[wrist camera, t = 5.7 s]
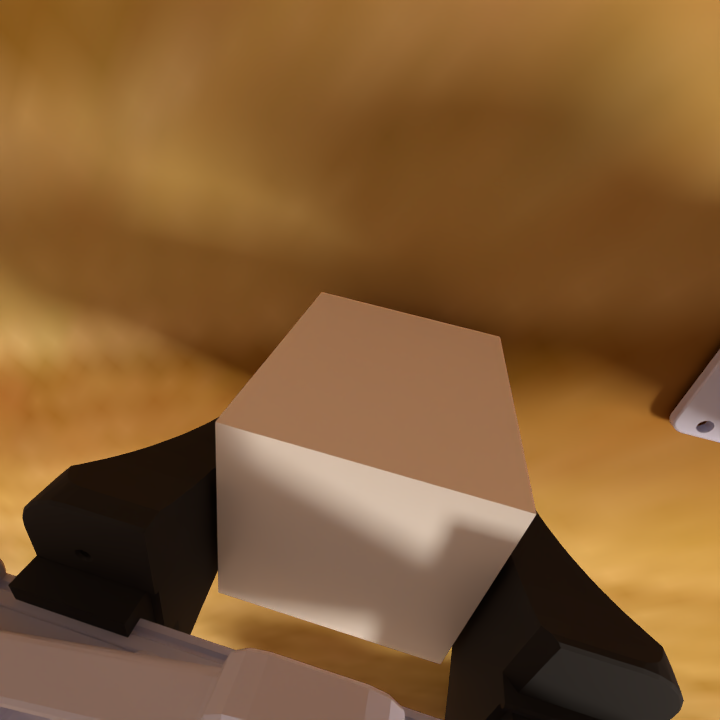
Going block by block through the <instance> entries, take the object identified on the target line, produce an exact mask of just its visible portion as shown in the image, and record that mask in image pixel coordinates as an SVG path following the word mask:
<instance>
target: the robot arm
mask: <svg viewBox="0 0 720 720" xmlns="http://www.w3.org/2000/svg"><path fill="white" fill-rule="evenodd" d="M218 418H219V417H218ZM218 418H216V419H214V420H213V421H211V422H209V423H207V424H205V425H203V426H201V427H199V428H196V429H194V430H192V431H190V432H187V433H185V434H183V435H180V436H177V437H175V438H172V439H169V440H167V441H164V442H161V443H158V444H156V445H153V446H150V447H147V448H143V449H140V450H137V451H134V452H130V453H126V454H123V455H119V456H115V457H111V458H107V459H102V460H98V461H93V462H88V463H84V464H79V465H74V466H71V467H69V468H68V469H67V470H66V471H64V472H63V473H62V474H61V475H60V476H58V477H57V478H56V479H55V480H54V481H53V482H52V483H50V484H49V485H48V486H47V487H46V488H45V489H44V490H43V491H41V492H40V493H39V494H38V495H37V496H36V497H35V498H34V499H33V500H31V501H30V502H29V503H28V504H27V505H26V506H25V507H24V510H23V522H24V526H25V528H26V531H27V533H28V535H29V538H30V540H31V542H32V545H33V547H34V549H35V552H36V554H37V556H36V557H35V558H34V559H33V560H32V561H31V562H30V563H29V564H28V565H27V566H26V567H25V568H24V569H23V570H22V571H21V572H20V573H19V574H18V575H17V576H14V575H11V574H8V573H6V569H5V566H4V563H3V561H2V560H1V559H0V720H441V719H438V718H435V717H432V716H429V715H426V714H424V713H421V712H418V711H415V710H412V709H409V708H406V707H403V706H401V705H400V704H399V703H398V702H397V701H396V700H395V699H393V698H392V697H391V696H390V695H389V694H388V693H386V692H383V691H381V690H379V689H377V688H375V687H373V686H371V685H368V684H365V683H362V682H359V681H356V680H353V679H350V678H347V677H344V676H341V675H338V674H335V673H332V672H329V671H326V670H323V669H320V668H317V667H314V666H311V665H308V664H305V663H303V662H300V661H297V660H294V659H291V658H288V657H285V656H282V655H279V654H276V653H273V652H269V651H264V650H259V649H254V648H246V649H240V650H233V649H230V648H227V647H225V646H222V645H219V644H216V643H213V642H210V641H207V640H204V639H201V638H198V637H195V636H192V635H190V634H191V632H192V629H193V627H194V625H195V622H196V620H197V617H198V615H199V613H200V610H201V608H202V605H203V603H204V601H205V599H206V596H207V594H208V592H209V589H210V587H211V585H212V583H213V580H214V578H215V576H216V573H217V571H218V541H217V488H216V435H215V422H216V421H217V419H218ZM669 419H670V423H671V424H672V426H673V427H674V428H675V429H676V430H677V431H679V432H681V433H684V434H688V435H692V436H696V437H700V438H704V439H708V440H712V441H715V442H719V443H720V349H719V351H718V352H717V353H716V355H715V356H714V357H713V359H712V360H711V361H710V363H709V364H708V365H707V367H706V368H705V369H704V371H703V372H702V373H701V375H700V376H699V377H698V379H697V380H696V381H695V383H694V384H693V385H692V387H691V388H690V389H689V391H688V392H687V393H686V395H685V396H684V397H683V399H682V400H681V401H680V403H679V404H678V405H677V407H676V408H675V409H674V410H673V412H672V413H671V415H670V417H669ZM703 421H707V422H706V423H705V424H704V425H700V426H697V425H698V424H699V423H700V422H703ZM683 701H684V700H683V697H682V694H681V691H680V688H679V685H678V683H677V680H676V678H675V675H674V672H673V670H672V667H671V665H670V663H669V660H668V658H667V656H666V654H665V651H664V649H663V647H662V646H661V645H660V644H659V643H658V642H656V641H655V640H654V639H653V638H652V637H651V636H650V635H649V634H648V633H646V632H645V631H644V630H643V629H642V628H641V627H640V626H639V625H637V624H636V623H635V622H634V621H633V620H632V619H631V618H630V617H629V616H627V615H626V614H625V613H624V612H623V611H622V610H621V609H620V608H619V607H618V606H617V605H616V604H615V603H614V602H613V601H612V600H611V599H610V598H609V597H608V596H607V595H606V594H605V593H604V592H603V591H602V590H601V589H600V588H599V587H598V586H597V585H596V584H595V583H594V582H593V581H592V580H591V579H590V578H589V577H588V575H587V574H586V573H585V572H584V571H583V570H582V569H581V568H580V566H579V565H578V564H577V563H576V562H575V561H574V560H573V558H572V557H571V556H570V555H569V554H568V553H567V551H566V550H565V549H564V548H563V547H562V545H561V544H560V543H559V541H558V540H557V539H556V538H555V536H554V535H553V534H552V532H551V531H550V530H549V528H548V527H547V526H546V524H545V523H544V522H543V520H542V519H541V517H540V516H539V514H538V513H537V511H536V516H535V517H534V519H533V520H532V522H531V524H530V525H529V527H528V528H527V530H526V531H525V533H524V535H523V536H522V538H521V539H520V541H519V542H518V544H517V545H516V547H515V549H514V550H513V552H512V553H511V555H510V556H509V558H508V559H507V561H506V563H505V564H504V566H503V567H502V569H501V570H500V572H499V574H498V575H497V577H496V578H495V580H494V581H493V583H492V584H491V586H490V588H489V589H488V591H487V592H486V594H485V595H484V597H483V599H482V600H481V602H480V603H479V605H478V606H477V608H476V609H475V611H474V613H473V614H472V616H471V617H470V619H469V620H468V622H467V623H466V625H465V627H464V628H463V630H462V631H461V633H460V634H459V636H458V638H457V639H456V641H455V642H454V644H453V645H452V655H451V666H450V676H449V687H448V696H447V705H446V714H445V720H670V719H672V718H673V717H674V716H675V715H676V714H677V713H678V712H679V711H680V709H681V707H682V704H683Z"/></svg>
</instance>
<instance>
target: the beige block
mask: <svg viewBox="0 0 720 720" xmlns="http://www.w3.org/2000/svg"><path fill="white" fill-rule="evenodd" d="M215 435H216V488H217V541H218V592H219V593H222V594H225V595H228V596H232V597H235V598H238V599H241V600H244V601H247V602H250V603H253V604H256V605H259V606H262V607H265V608H268V609H272V610H275V611H278V612H281V613H284V614H287V615H290V616H293V617H296V618H299V619H302V620H305V621H308V622H312V623H315V624H318V625H321V626H324V627H327V628H330V629H333V630H336V631H339V632H342V633H345V634H348V635H352V636H355V637H358V638H361V639H364V640H367V641H370V642H373V643H376V644H379V645H382V646H385V647H388V648H392V649H395V650H398V651H401V652H404V653H407V654H410V655H413V656H416V657H419V658H422V659H425V660H428V661H432V662H435V663H438V664H441V662H442V661H443V659H444V658H445V656H446V655H447V653H448V652H449V650H450V648H451V647H452V645H453V644H454V642H455V641H456V639H457V638H458V636H459V634H460V633H461V631H462V630H463V628H464V627H465V625H466V623H467V622H468V620H469V619H470V617H471V616H472V614H473V613H474V611H475V609H476V608H477V606H478V605H479V603H480V602H481V600H482V599H483V597H484V595H485V594H486V592H487V591H488V589H489V588H490V586H491V584H492V583H493V581H494V580H495V578H496V577H497V575H498V574H499V572H500V570H501V569H502V567H503V566H504V564H505V563H506V561H507V559H508V558H509V556H510V555H511V553H512V552H513V550H514V549H515V547H516V545H517V544H518V542H519V541H520V539H521V538H522V536H523V535H524V533H525V531H526V530H527V528H528V527H529V525H530V524H531V522H532V520H533V519H534V517H535V516H536V509H535V505H534V500H533V495H532V490H531V485H530V480H529V475H528V470H527V466H526V461H525V456H524V451H523V446H522V441H521V436H520V432H519V427H518V422H517V417H516V412H515V407H514V402H513V398H512V393H511V388H510V383H509V378H508V373H507V368H506V363H505V359H504V354H503V349H502V344H501V339H500V337H499V336H495V335H491V334H487V333H483V332H479V331H475V330H471V329H467V328H463V327H459V326H455V325H452V324H448V323H444V322H440V321H436V320H432V319H428V318H424V317H420V316H416V315H412V314H408V313H404V312H400V311H396V310H392V309H388V308H384V307H380V306H376V305H372V304H368V303H364V302H360V301H356V300H352V299H348V298H344V297H340V296H336V295H332V294H328V293H324V292H321V293H320V295H319V296H318V297H317V298H316V300H315V301H314V302H313V303H312V304H311V306H310V307H309V308H308V309H307V311H306V312H305V313H304V314H303V315H302V317H301V318H300V319H299V320H298V322H297V323H296V324H295V325H294V326H293V328H292V329H291V330H290V331H289V333H288V334H287V335H286V336H285V337H284V339H283V340H282V341H281V342H280V344H279V345H278V346H277V347H276V348H275V350H274V351H273V352H272V353H271V355H270V356H269V357H268V358H267V359H266V361H265V362H264V363H263V364H262V366H261V367H260V368H259V369H258V370H257V372H256V373H255V374H254V375H253V377H252V378H251V379H250V380H249V381H248V383H247V384H246V385H245V386H244V388H243V389H242V390H241V391H240V392H239V394H238V395H237V396H236V397H235V399H234V400H233V401H232V402H231V403H230V405H229V406H228V407H227V408H226V410H225V411H224V412H223V413H222V414H221V416H220V417H219V418H218V419H217V421H216V422H215Z"/></svg>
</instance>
